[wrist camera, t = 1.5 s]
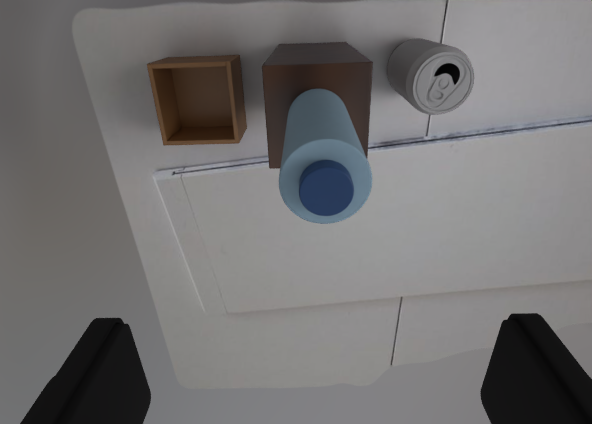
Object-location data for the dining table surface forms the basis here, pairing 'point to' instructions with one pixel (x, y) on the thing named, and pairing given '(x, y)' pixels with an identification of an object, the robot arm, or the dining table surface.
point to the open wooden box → (199, 99)
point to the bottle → (323, 160)
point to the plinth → (315, 86)
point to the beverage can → (431, 75)
